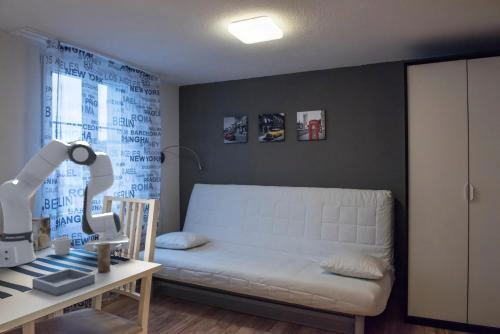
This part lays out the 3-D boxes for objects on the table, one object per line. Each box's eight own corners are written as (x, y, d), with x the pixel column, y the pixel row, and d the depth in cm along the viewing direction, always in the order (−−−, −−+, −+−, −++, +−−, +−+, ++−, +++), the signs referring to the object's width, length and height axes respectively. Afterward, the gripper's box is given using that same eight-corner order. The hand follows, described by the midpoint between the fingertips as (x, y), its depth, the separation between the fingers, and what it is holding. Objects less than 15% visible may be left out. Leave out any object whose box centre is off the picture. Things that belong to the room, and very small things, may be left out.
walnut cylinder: (97, 273, 149) (97, 245, 149) (98, 269, 154) (98, 242, 154) (109, 272, 151) (109, 244, 150) (110, 268, 156) (110, 242, 155)
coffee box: (41, 245, 194) (41, 216, 194) (51, 246, 193) (50, 217, 192) (27, 249, 185) (27, 219, 185) (37, 250, 184) (37, 220, 183)
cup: (44, 255, 174) (44, 239, 174) (55, 251, 182) (55, 236, 182) (64, 256, 173) (64, 240, 173) (74, 252, 181) (74, 237, 181)
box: (56, 296, 125) (56, 286, 125) (32, 288, 132) (32, 278, 132) (94, 283, 138) (94, 274, 138) (70, 276, 146) (70, 267, 146)
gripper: (86, 237, 174) (82, 243, 160) (130, 234, 180) (129, 241, 167) (86, 249, 174) (82, 257, 161) (130, 246, 180) (129, 254, 167)
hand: (106, 249), depth 164 cm, fingers open, 8 cm apart
